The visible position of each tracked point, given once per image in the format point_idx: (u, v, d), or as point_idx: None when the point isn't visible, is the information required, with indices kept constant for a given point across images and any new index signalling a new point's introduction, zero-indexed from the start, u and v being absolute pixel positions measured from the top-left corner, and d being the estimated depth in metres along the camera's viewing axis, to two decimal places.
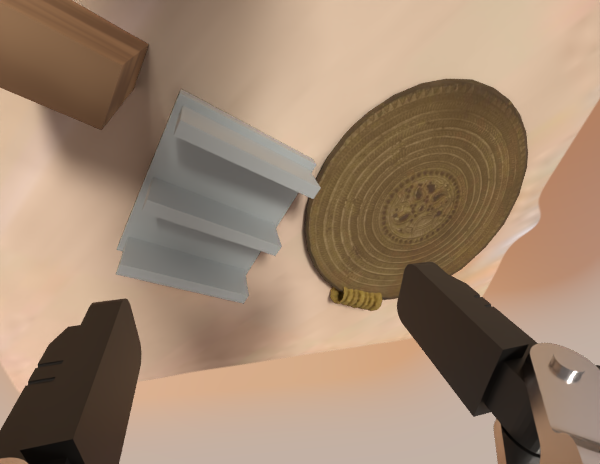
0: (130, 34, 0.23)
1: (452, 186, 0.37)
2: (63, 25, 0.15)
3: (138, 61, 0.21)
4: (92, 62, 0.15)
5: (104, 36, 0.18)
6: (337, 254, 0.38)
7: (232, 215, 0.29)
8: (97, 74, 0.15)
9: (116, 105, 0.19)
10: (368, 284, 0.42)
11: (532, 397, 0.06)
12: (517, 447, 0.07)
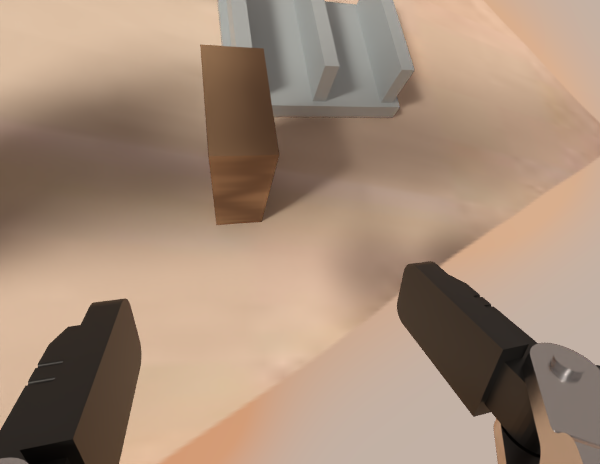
0: None
1: None
2: None
3: None
4: (211, 61, 0.17)
5: None
6: None
7: (304, 23, 0.29)
8: (218, 57, 0.18)
9: None
10: None
11: (532, 397, 0.06)
12: (517, 447, 0.07)
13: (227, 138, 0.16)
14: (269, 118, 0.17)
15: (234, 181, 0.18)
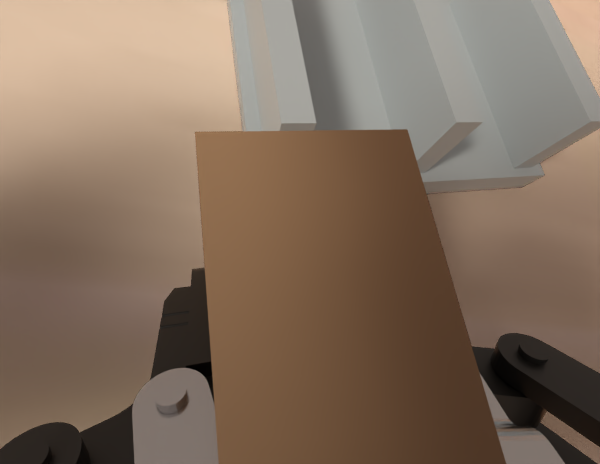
0: None
1: None
2: None
3: None
4: (238, 200, 0.04)
5: None
6: None
7: (383, 32, 0.16)
8: (265, 177, 0.05)
9: None
10: None
11: None
12: None
13: None
14: (484, 448, 0.04)
15: None
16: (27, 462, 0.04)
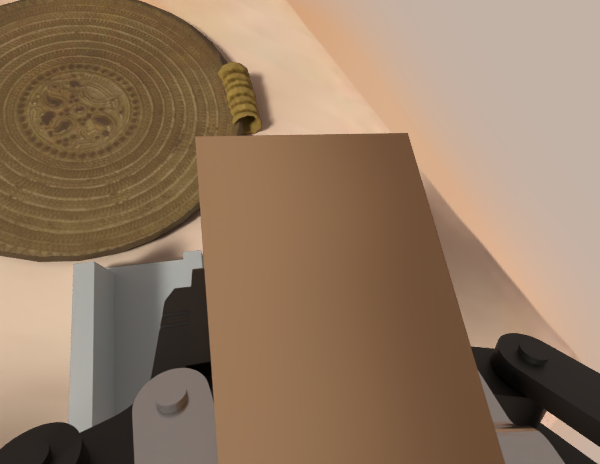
0: None
1: (30, 94, 0.29)
2: None
3: None
4: (238, 205, 0.04)
5: None
6: (193, 163, 0.29)
7: None
8: (265, 182, 0.05)
9: None
10: (213, 98, 0.31)
11: None
12: None
13: None
14: (484, 453, 0.04)
15: None
16: (27, 462, 0.04)
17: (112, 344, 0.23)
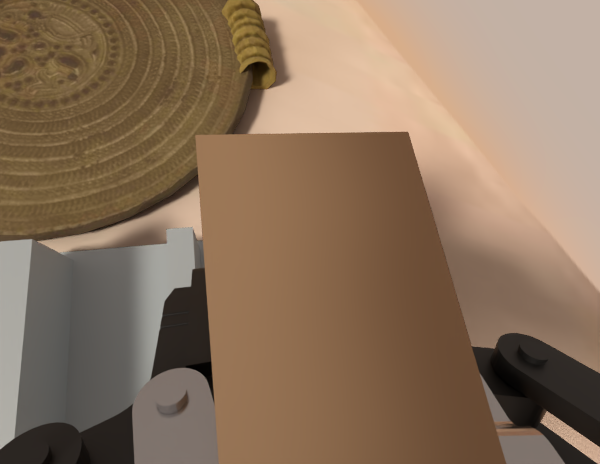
0: None
1: None
2: None
3: None
4: (238, 203, 0.04)
5: None
6: (187, 119, 0.22)
7: None
8: (266, 181, 0.05)
9: None
10: (216, 40, 0.25)
11: None
12: None
13: None
14: (485, 452, 0.04)
15: None
16: (27, 462, 0.04)
17: (64, 361, 0.16)
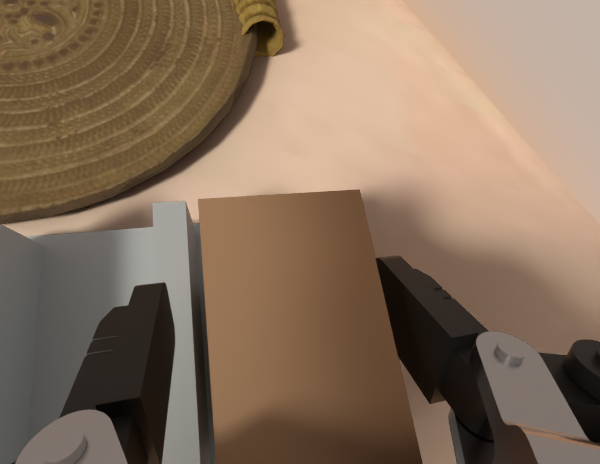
0: None
1: None
2: None
3: None
4: (229, 250, 0.06)
5: None
6: (181, 85, 0.19)
7: None
8: (249, 233, 0.06)
9: None
10: None
11: (482, 388, 0.06)
12: (471, 436, 0.07)
13: None
14: (401, 428, 0.06)
15: None
16: None
17: (27, 368, 0.13)
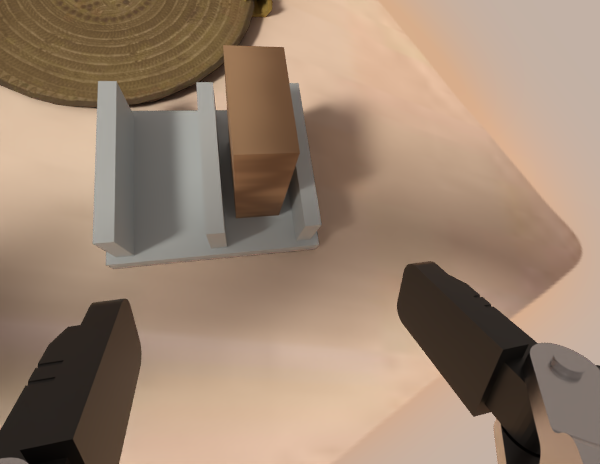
0: None
1: None
2: None
3: None
4: (233, 61, 0.18)
5: None
6: (206, 32, 0.31)
7: None
8: (241, 57, 0.18)
9: None
10: None
11: (532, 397, 0.06)
12: (517, 447, 0.07)
13: (250, 137, 0.17)
14: (290, 116, 0.18)
15: (255, 177, 0.19)
16: None
17: (132, 170, 0.25)
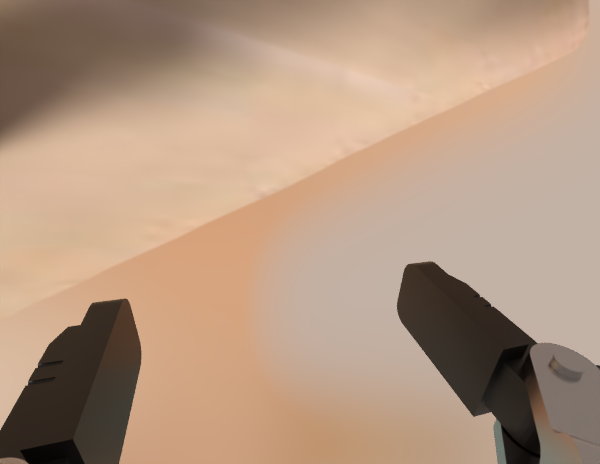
0: None
1: None
2: None
3: None
4: None
5: None
6: None
7: None
8: None
9: None
10: None
11: (532, 397, 0.06)
12: (517, 447, 0.07)
13: None
14: None
15: None
16: None
17: None
